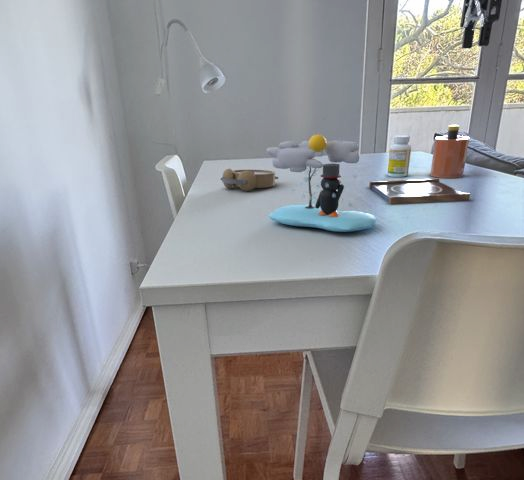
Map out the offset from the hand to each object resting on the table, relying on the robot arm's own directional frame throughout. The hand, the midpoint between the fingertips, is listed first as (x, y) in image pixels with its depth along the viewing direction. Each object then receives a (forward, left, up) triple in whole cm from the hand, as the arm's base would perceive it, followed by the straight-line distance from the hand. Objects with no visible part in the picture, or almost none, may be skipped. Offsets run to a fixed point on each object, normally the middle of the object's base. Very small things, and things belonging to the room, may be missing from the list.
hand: (474, 47), depth 109 cm
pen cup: (+2, 0, -28) cm, 28 cm away
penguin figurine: (+42, +42, -28) cm, 66 cm away
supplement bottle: (+14, -3, -28) cm, 32 cm away
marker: (+2, 0, -27) cm, 27 cm away
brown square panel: (+17, +20, -28) cm, 38 cm away
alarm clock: (+54, +4, -28) cm, 61 cm away
